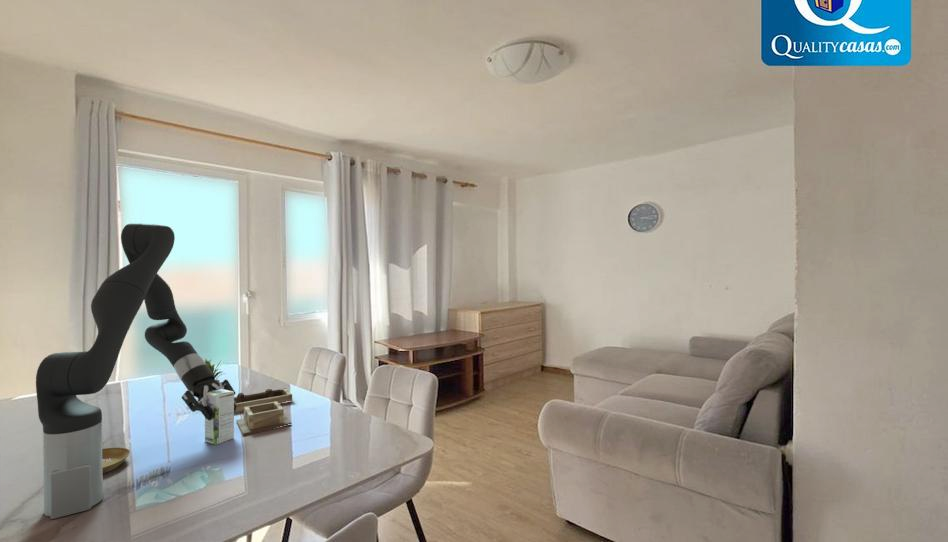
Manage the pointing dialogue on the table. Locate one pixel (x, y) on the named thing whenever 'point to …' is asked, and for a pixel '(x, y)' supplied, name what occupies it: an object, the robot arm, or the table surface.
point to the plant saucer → (113, 457)
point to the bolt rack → (263, 400)
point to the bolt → (258, 395)
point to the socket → (262, 418)
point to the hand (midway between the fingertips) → (223, 414)
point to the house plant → (213, 369)
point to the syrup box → (220, 416)
